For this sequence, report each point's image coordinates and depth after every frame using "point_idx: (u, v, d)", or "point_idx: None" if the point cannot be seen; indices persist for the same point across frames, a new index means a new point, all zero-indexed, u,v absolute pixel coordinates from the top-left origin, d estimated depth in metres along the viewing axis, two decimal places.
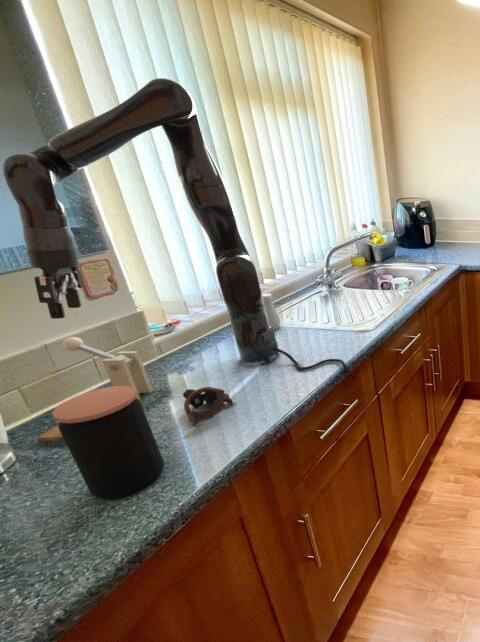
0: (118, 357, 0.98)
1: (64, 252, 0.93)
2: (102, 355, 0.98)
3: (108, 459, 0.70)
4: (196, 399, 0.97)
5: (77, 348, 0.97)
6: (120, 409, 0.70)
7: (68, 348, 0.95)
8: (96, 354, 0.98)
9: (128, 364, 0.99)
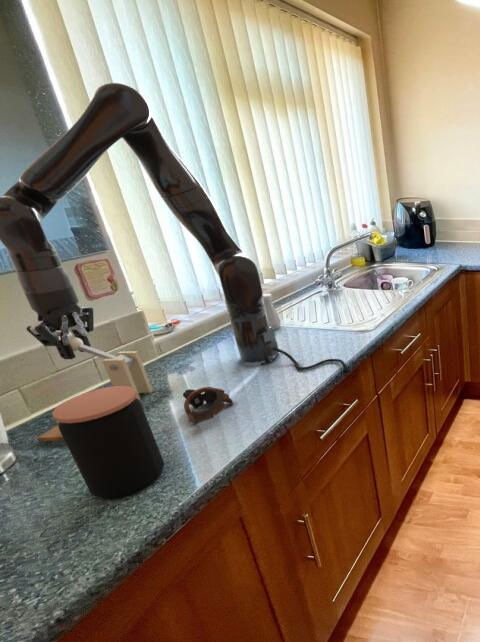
0: (118, 357, 0.98)
1: (52, 294, 0.90)
2: (102, 355, 0.98)
3: (108, 459, 0.70)
4: (196, 399, 0.97)
5: (77, 348, 0.97)
6: (120, 409, 0.70)
7: None
8: (96, 354, 0.98)
9: (128, 364, 0.99)
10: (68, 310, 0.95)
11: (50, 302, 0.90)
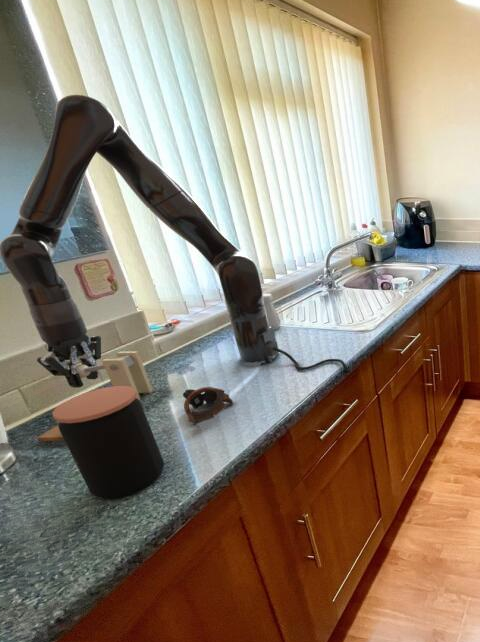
0: None
1: (62, 326, 0.93)
2: None
3: (108, 459, 0.70)
4: (196, 399, 0.97)
5: (84, 372, 0.99)
6: (120, 409, 0.70)
7: None
8: (100, 368, 0.99)
9: (127, 361, 0.99)
10: (77, 340, 0.98)
11: (60, 334, 0.93)
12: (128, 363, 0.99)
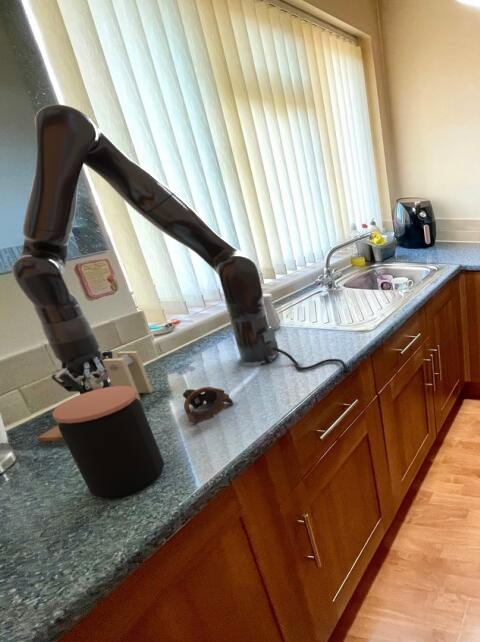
0: None
1: (75, 343, 0.94)
2: None
3: (108, 459, 0.70)
4: (196, 399, 0.97)
5: (96, 383, 1.00)
6: (120, 409, 0.70)
7: None
8: (106, 374, 1.00)
9: (125, 359, 0.99)
10: (89, 356, 0.99)
11: (73, 351, 0.94)
12: (127, 361, 0.99)
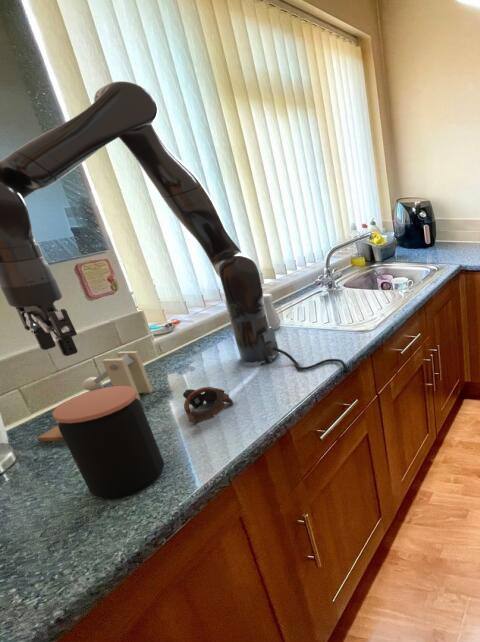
0: None
1: (54, 282, 0.85)
2: None
3: (108, 459, 0.70)
4: (196, 399, 0.97)
5: (95, 382, 1.00)
6: (120, 409, 0.70)
7: (88, 387, 0.99)
8: (105, 374, 1.00)
9: (125, 359, 0.99)
10: None
11: (55, 291, 0.85)
12: (127, 361, 0.99)
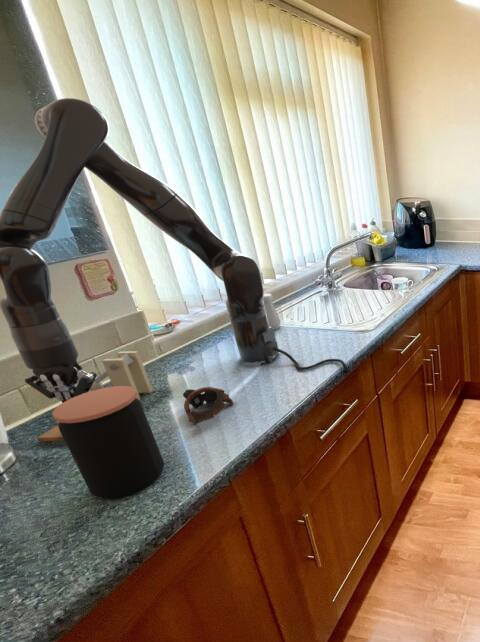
0: None
1: None
2: None
3: (108, 459, 0.70)
4: (196, 399, 0.97)
5: (95, 382, 1.00)
6: (120, 409, 0.70)
7: None
8: (105, 374, 1.00)
9: (125, 359, 0.99)
10: None
11: (75, 348, 0.86)
12: (127, 361, 0.99)
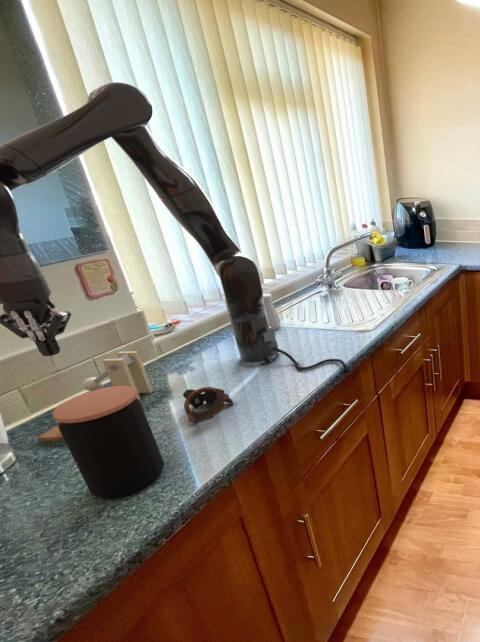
0: None
1: None
2: None
3: (108, 459, 0.70)
4: (196, 399, 0.97)
5: (95, 382, 1.00)
6: (120, 409, 0.70)
7: (88, 387, 0.99)
8: (105, 374, 1.00)
9: (125, 359, 0.99)
10: None
11: (47, 285, 0.83)
12: (127, 361, 0.99)
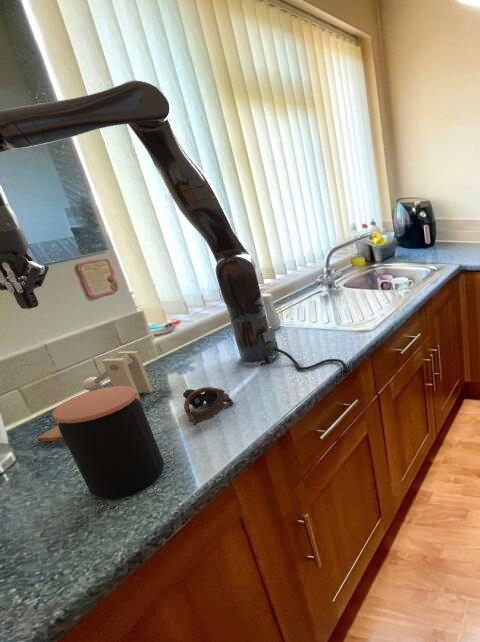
0: None
1: (22, 230, 0.86)
2: None
3: (108, 459, 0.70)
4: (196, 399, 0.97)
5: (95, 382, 1.00)
6: (120, 409, 0.70)
7: (88, 387, 0.99)
8: (105, 374, 1.00)
9: (125, 359, 0.99)
10: None
11: (26, 239, 0.86)
12: (127, 361, 0.99)
